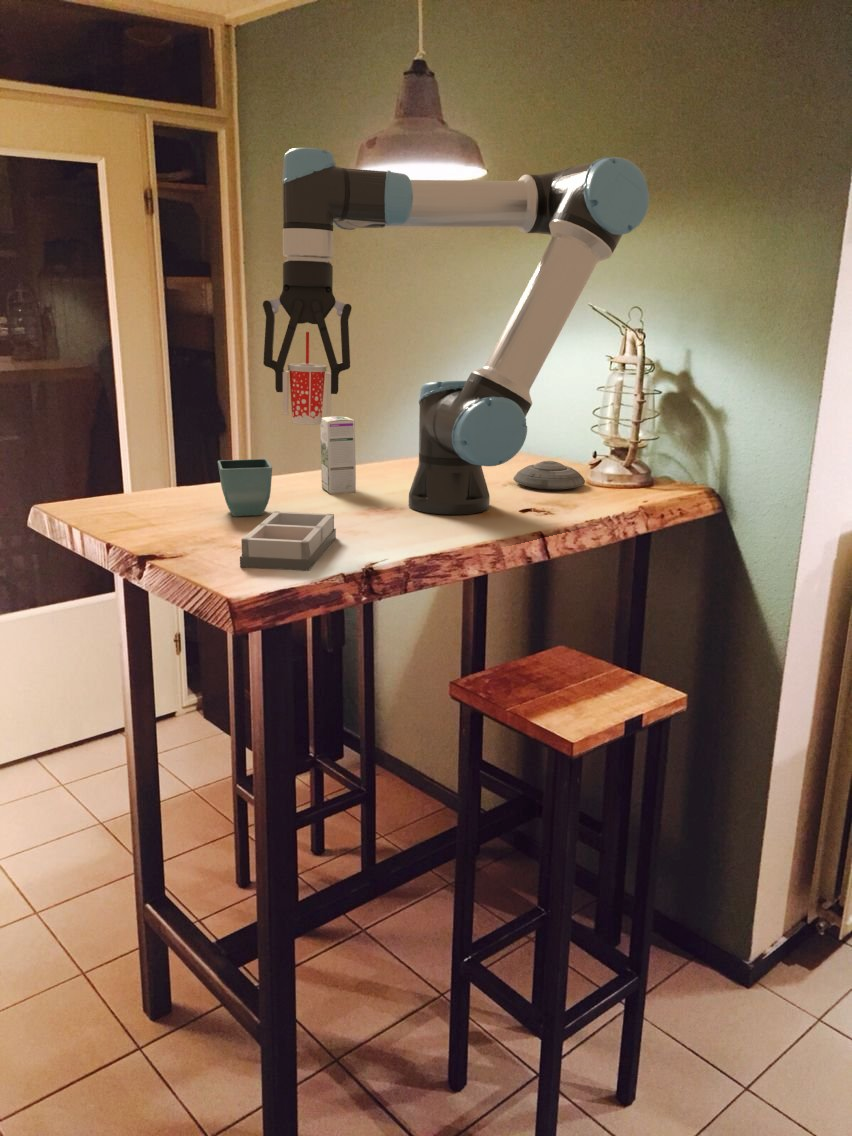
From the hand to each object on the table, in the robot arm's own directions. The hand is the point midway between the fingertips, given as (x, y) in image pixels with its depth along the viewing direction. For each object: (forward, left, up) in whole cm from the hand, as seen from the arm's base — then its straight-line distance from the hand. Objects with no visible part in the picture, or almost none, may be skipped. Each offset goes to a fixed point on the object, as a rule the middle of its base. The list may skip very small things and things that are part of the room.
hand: (306, 414), depth 148 cm
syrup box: (+2, -35, -20) cm, 40 cm away
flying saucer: (-40, -50, -20) cm, 67 cm away
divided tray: (0, +12, -19) cm, 23 cm away
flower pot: (+14, -12, -20) cm, 27 cm away
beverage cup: (0, 0, -2) cm, 2 cm away
